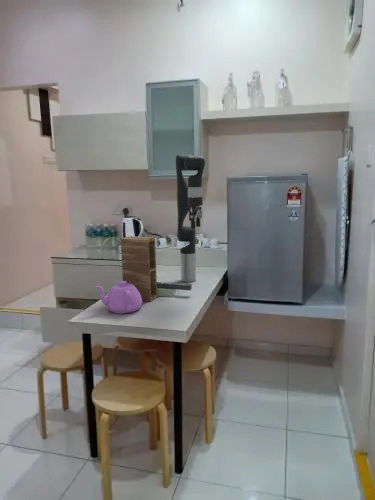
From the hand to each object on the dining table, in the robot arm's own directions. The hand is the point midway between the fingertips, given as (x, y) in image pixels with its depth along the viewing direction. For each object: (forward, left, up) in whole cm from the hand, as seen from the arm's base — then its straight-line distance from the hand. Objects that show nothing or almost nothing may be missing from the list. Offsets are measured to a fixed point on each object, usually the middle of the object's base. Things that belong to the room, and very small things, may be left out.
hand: (195, 227), depth 202 cm
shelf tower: (+14, -26, -36) cm, 47 cm away
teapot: (+34, -28, -36) cm, 57 cm away
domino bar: (+3, -14, -33) cm, 36 cm away
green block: (+3, -20, -36) cm, 41 cm away
